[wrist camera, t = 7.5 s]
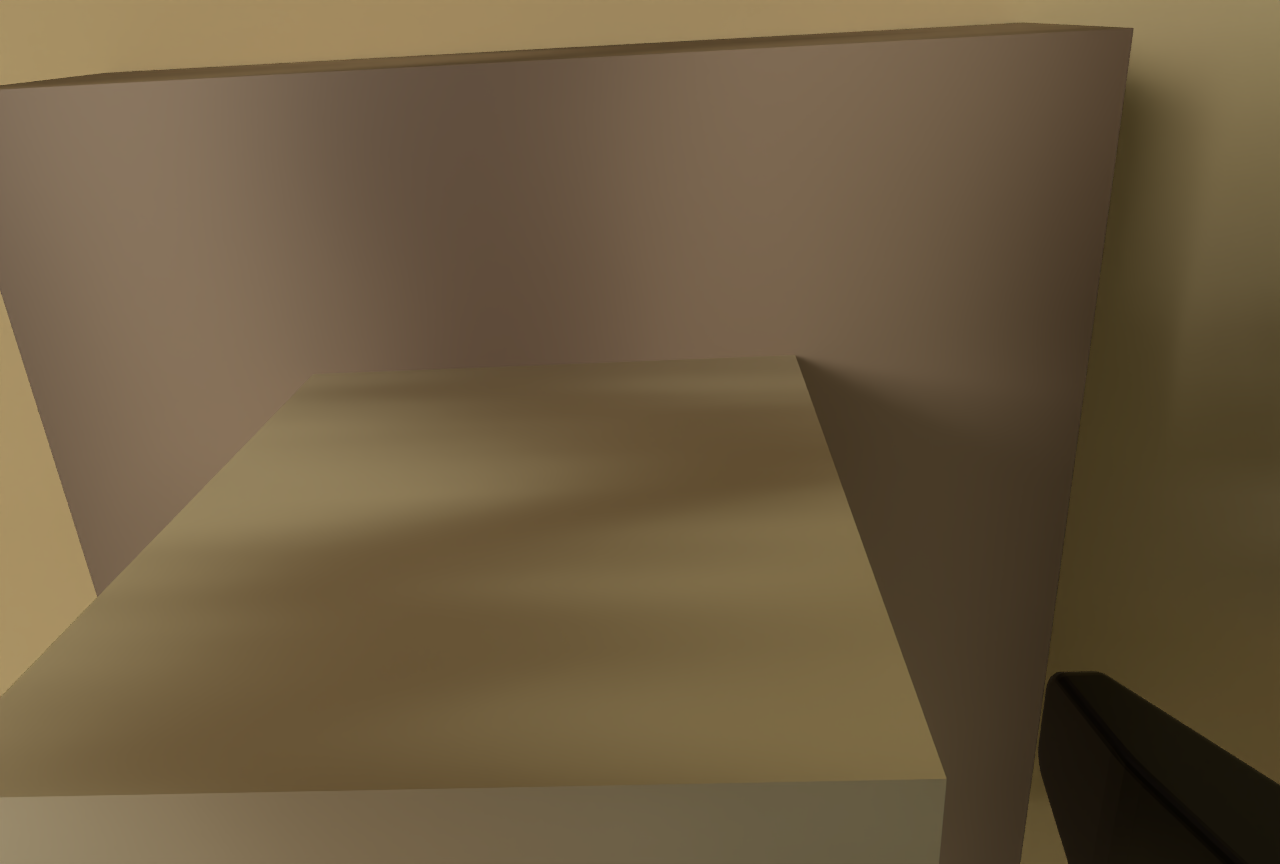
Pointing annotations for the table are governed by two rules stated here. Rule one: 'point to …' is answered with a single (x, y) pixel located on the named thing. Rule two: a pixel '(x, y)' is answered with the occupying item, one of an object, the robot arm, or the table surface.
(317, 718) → the beige cube
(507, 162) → the pedestal
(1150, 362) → the table surface
